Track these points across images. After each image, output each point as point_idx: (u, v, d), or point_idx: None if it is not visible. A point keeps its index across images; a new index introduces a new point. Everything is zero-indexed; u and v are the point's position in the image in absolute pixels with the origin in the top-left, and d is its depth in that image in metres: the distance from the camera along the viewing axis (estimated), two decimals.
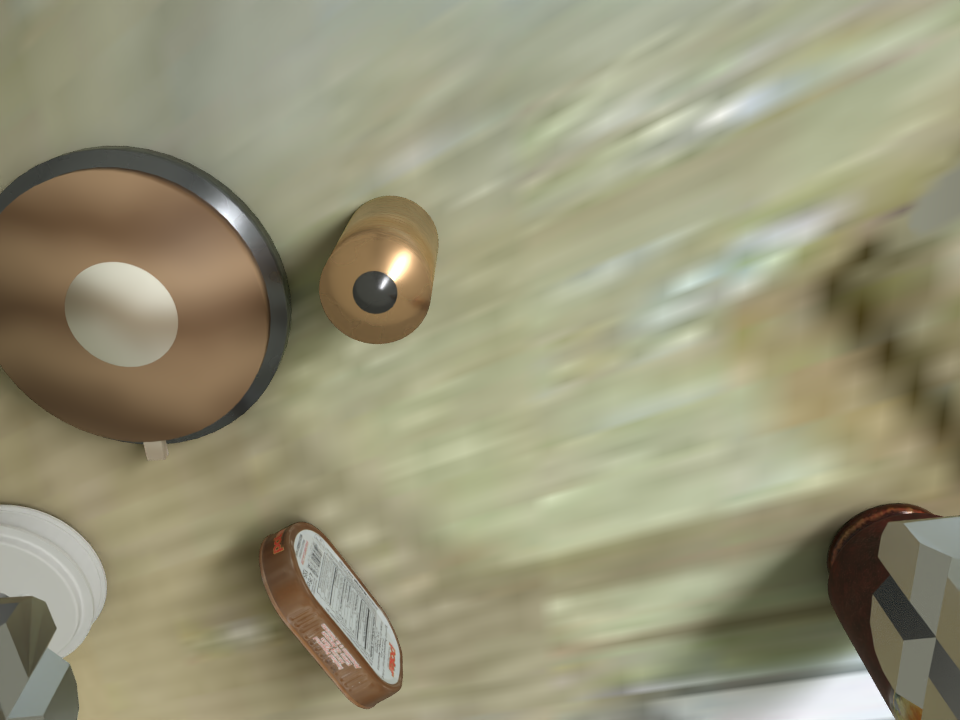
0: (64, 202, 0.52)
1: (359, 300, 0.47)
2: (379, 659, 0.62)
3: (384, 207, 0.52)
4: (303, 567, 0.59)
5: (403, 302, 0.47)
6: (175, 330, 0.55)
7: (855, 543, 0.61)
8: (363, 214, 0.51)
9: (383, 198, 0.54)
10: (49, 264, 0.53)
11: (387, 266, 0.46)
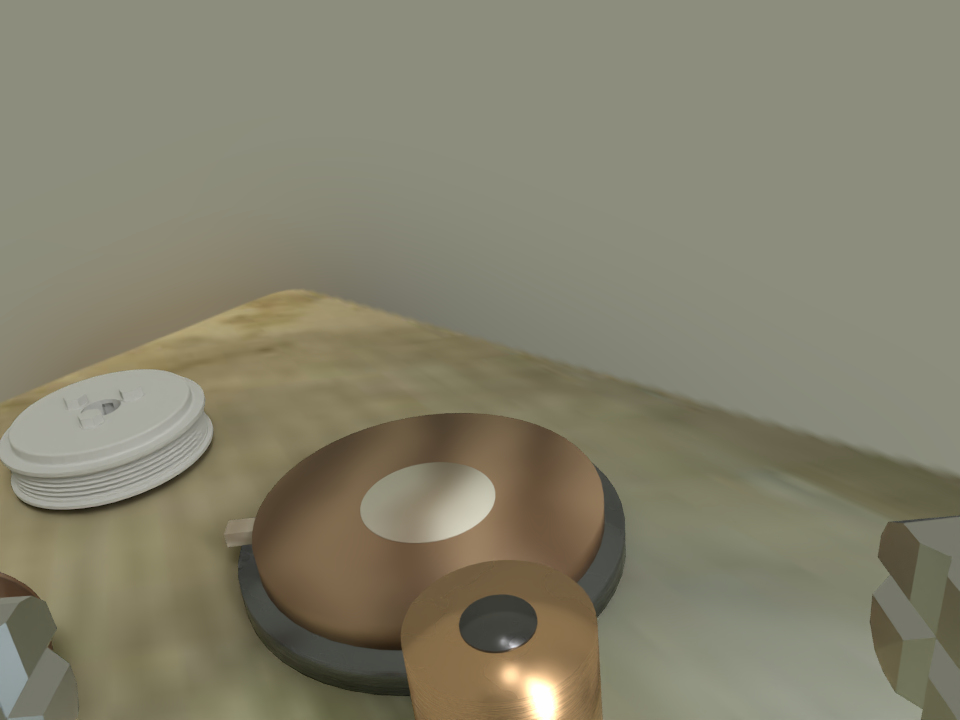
0: (562, 464, 0.47)
1: (483, 603, 0.27)
2: None
3: None
4: None
5: (480, 662, 0.25)
6: (403, 541, 0.42)
7: None
8: None
9: None
10: (490, 454, 0.48)
11: (547, 637, 0.26)
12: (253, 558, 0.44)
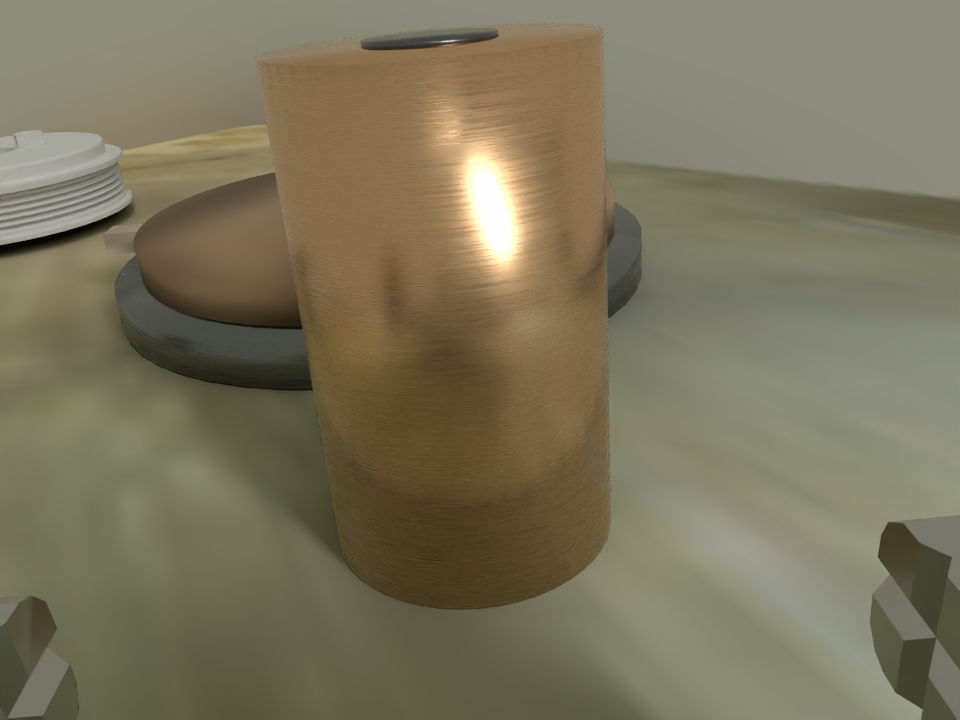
0: None
1: (409, 34, 0.16)
2: None
3: None
4: None
5: (388, 52, 0.14)
6: None
7: None
8: None
9: None
10: None
11: (514, 38, 0.14)
12: None
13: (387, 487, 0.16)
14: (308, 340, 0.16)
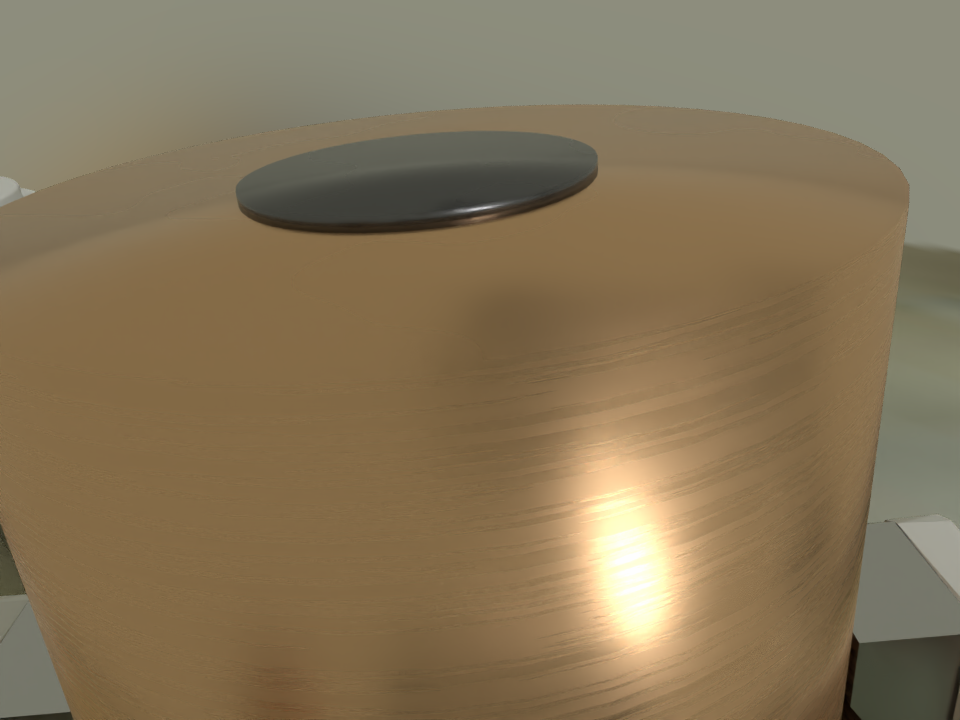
0: None
1: (369, 147, 0.07)
2: None
3: None
4: None
5: (290, 254, 0.05)
6: None
7: None
8: None
9: None
10: None
11: (655, 189, 0.05)
12: None
13: None
14: None
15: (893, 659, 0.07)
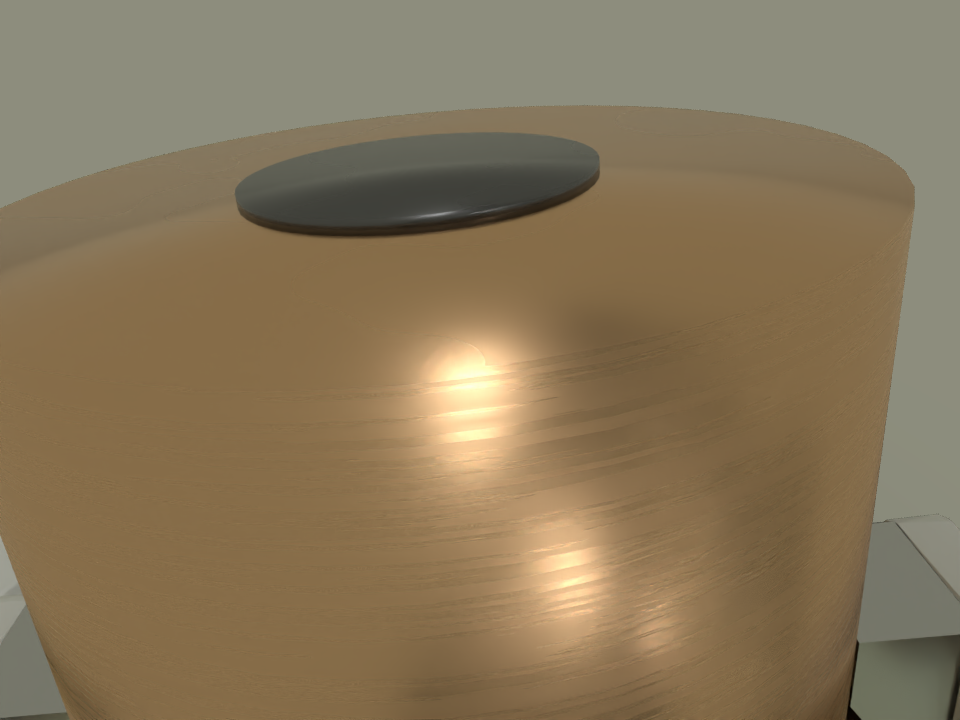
0: None
1: (370, 149, 0.07)
2: None
3: None
4: None
5: (288, 259, 0.04)
6: None
7: None
8: None
9: None
10: None
11: (656, 193, 0.05)
12: None
13: None
14: None
15: (894, 659, 0.07)
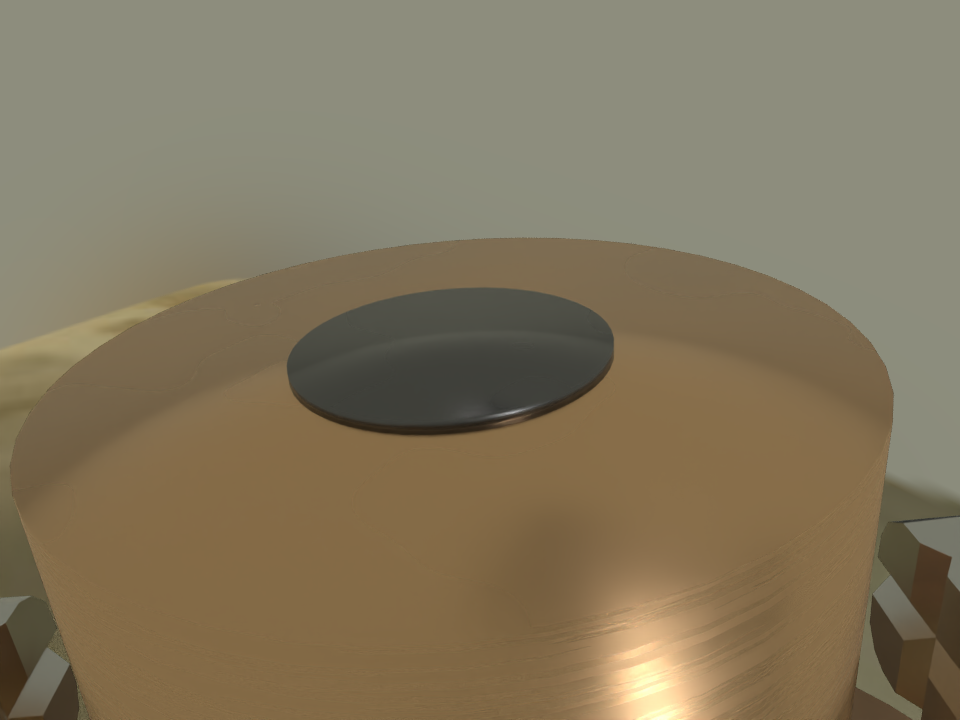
0: None
1: (402, 307, 0.07)
2: None
3: None
4: None
5: (346, 464, 0.05)
6: None
7: None
8: None
9: None
10: None
11: (667, 387, 0.06)
12: None
13: None
14: None
15: None
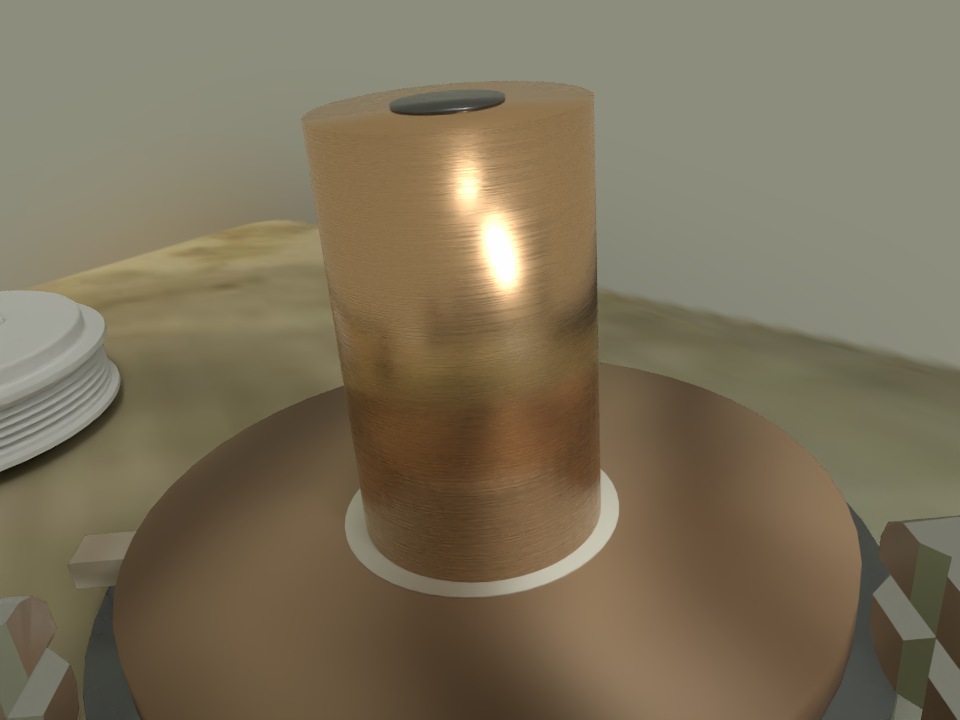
0: (740, 444, 0.24)
1: (429, 94, 0.19)
2: None
3: None
4: None
5: (413, 119, 0.17)
6: (434, 591, 0.19)
7: None
8: None
9: None
10: None
11: (518, 105, 0.17)
12: None
13: (410, 478, 0.19)
14: (343, 354, 0.19)
15: None
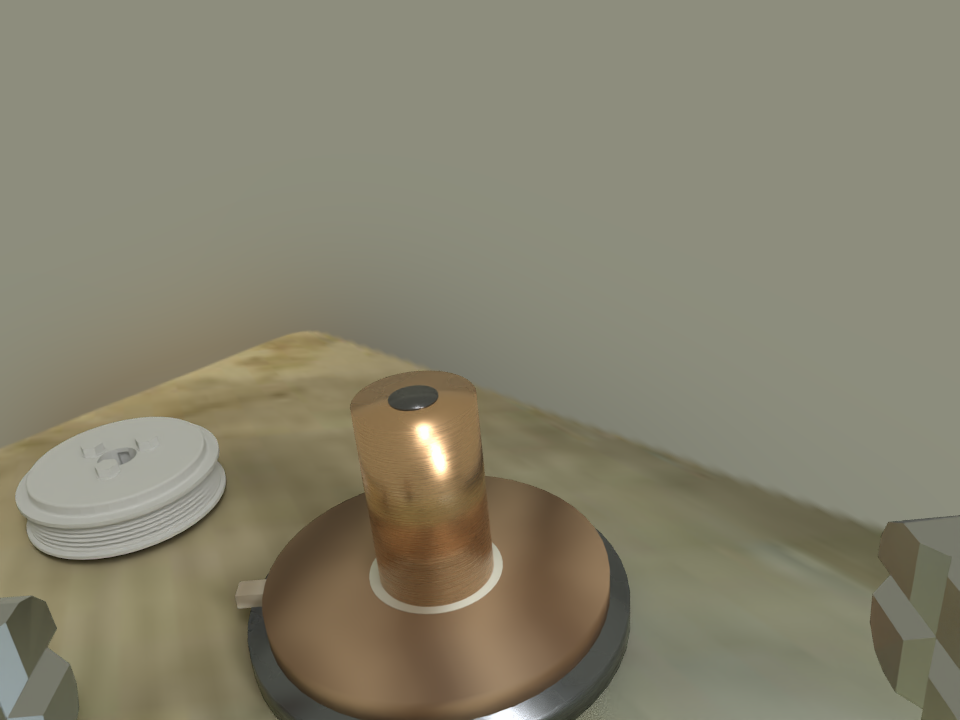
0: (569, 534, 0.47)
1: (406, 389, 0.42)
2: None
3: (488, 514, 0.44)
4: None
5: (397, 414, 0.40)
6: (411, 611, 0.43)
7: None
8: None
9: (492, 550, 0.45)
10: (499, 521, 0.49)
11: (442, 404, 0.40)
12: (262, 620, 0.45)
13: (399, 561, 0.42)
14: (368, 504, 0.42)
15: None
